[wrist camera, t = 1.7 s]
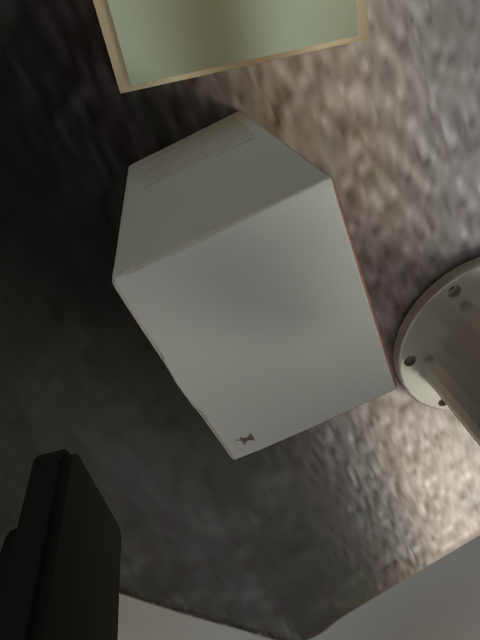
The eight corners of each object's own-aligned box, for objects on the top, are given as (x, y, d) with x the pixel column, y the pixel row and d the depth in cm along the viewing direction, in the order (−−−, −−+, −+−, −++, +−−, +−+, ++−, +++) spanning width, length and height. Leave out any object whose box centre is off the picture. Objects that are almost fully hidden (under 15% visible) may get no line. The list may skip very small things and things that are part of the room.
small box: (296, 244, 26) (402, 393, 15) (197, 291, 27) (231, 467, 16) (242, 103, 22) (335, 171, 11) (124, 162, 22) (101, 284, 11)
